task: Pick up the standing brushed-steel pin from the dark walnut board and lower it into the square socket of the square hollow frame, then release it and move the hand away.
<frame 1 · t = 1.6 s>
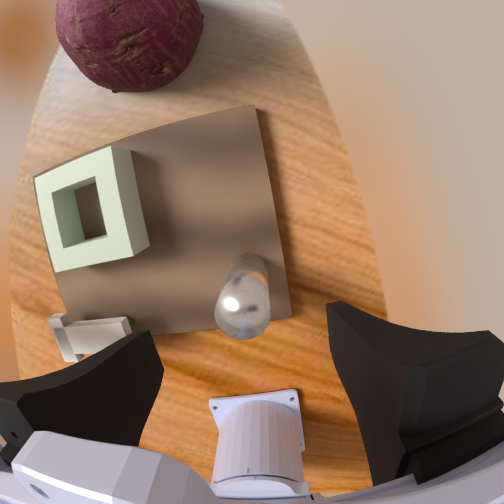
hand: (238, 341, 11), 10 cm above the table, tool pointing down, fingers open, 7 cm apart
pin: (248, 270, 20), point 1 cm above the table, touching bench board
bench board: (147, 237, 21), on the table
vegetable: (142, 40, 18), on the table
square hollow frame: (105, 207, 21), resting on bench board
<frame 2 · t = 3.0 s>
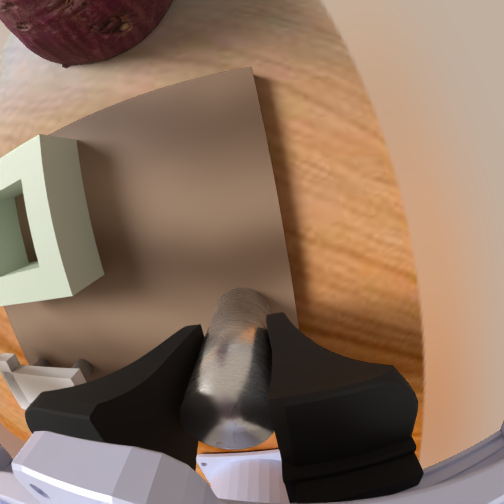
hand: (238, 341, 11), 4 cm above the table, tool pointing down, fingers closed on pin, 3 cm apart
pin: (242, 313, 14), point 1 cm above the table, touching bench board, gripper
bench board: (103, 261, 14), on the table
vegetable: (105, 1, 11), on the table
square hollow frame: (51, 219, 14), resting on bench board
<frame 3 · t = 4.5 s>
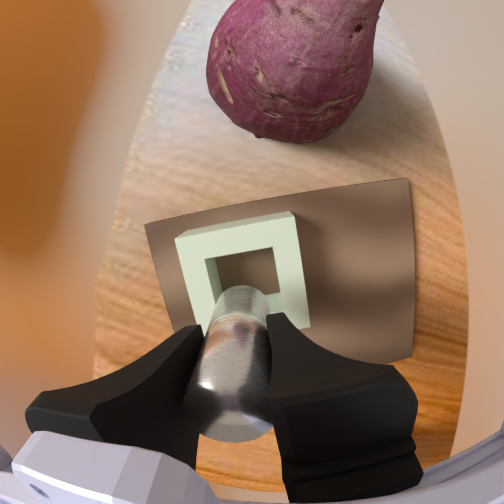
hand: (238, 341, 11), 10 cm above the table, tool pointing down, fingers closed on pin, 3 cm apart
pin: (242, 310, 14), point 8 cm above the table, touching gripper
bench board: (295, 297, 22), on the table
vegetable: (282, 78, 18), on the table
square hollow frame: (247, 266, 21), resting on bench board
when the fingers open (5 cm above the table, at t = 6.1 s): pin stays where it is, resting on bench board.
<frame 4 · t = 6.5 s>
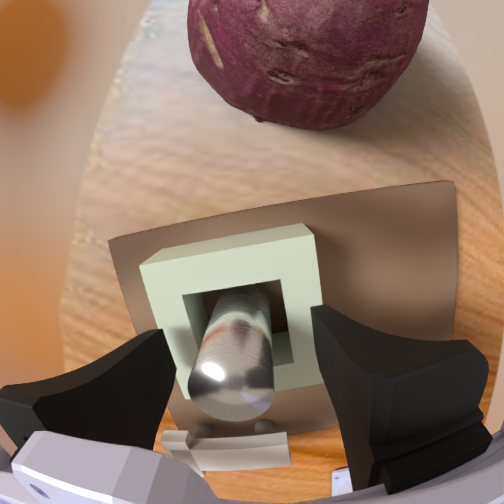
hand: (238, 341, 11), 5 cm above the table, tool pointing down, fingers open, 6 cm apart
pin: (243, 303, 15), point 1 cm above the table, touching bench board
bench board: (306, 334, 16), on the table
vegetable: (291, 46, 13), on the table
square hollow frame: (244, 295, 16), resting on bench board
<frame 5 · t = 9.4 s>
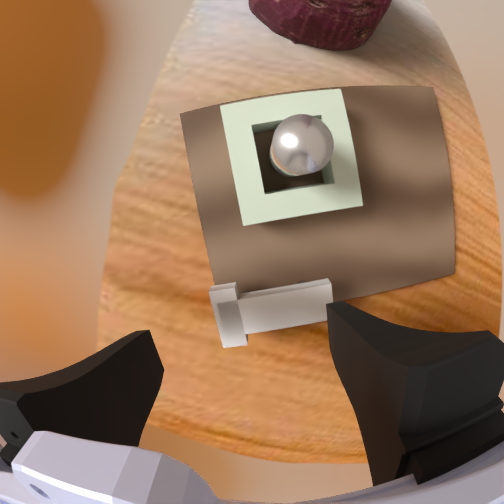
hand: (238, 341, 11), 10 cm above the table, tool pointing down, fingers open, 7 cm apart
pin: (288, 157, 18), point 1 cm above the table, touching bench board
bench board: (336, 194, 20), on the table
vegetable: (314, 2, 16), on the table
square hollow frame: (287, 158, 19), resting on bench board
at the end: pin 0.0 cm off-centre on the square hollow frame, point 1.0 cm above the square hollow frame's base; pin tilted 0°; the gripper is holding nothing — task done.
